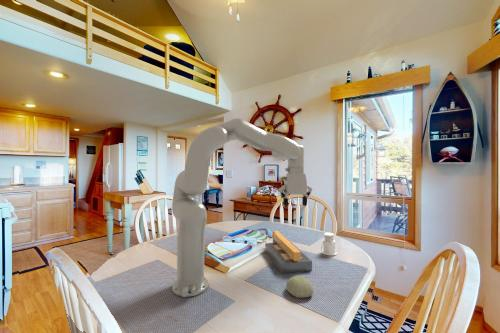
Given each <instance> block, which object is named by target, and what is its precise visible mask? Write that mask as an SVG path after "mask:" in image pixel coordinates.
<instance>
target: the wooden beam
mask: <svg viewBox="0 0 500 333" xmlns="http://www.w3.org/2000/svg"><path fill="white" fill-rule="evenodd" d="M271 238H272V240H273V239H274V240H275V241H276V242H277V243H278V244H279V245H280V246H281V247H282V249H283V250H284V251H285V252H286V253H287V254H288V255H289V256H290V257H291V258H292V259H293V260H294V261H299V260H301V252H302V251H301V250H300V249H299V248H298V247H297V246H296V245H295V244H294V243H292V242H291V241H289V240H288V239H287V238H286V237H285V236H284V235H283V234H282V233H280V231H279V230H272V236H271ZM290 242H291V243H292V244H291V243H290ZM294 245H295V246H296V247H297V248H298V249H299V250H300V251H301V252H300V251H299V250H298V249H297V248H296V247H295V246H294Z"/></svg>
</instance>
